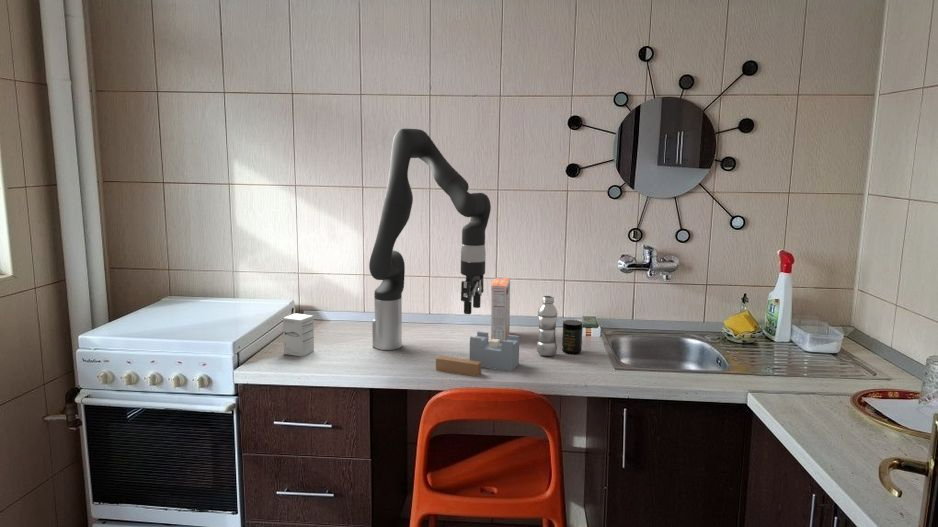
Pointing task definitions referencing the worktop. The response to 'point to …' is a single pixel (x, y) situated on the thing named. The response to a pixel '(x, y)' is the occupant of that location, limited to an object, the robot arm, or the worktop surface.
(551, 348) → the plastic bottle
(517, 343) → the notched gray block
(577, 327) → the supplement container
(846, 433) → the worktop surface
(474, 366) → the frame bar
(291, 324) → the supplement box
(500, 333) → the cracker box
